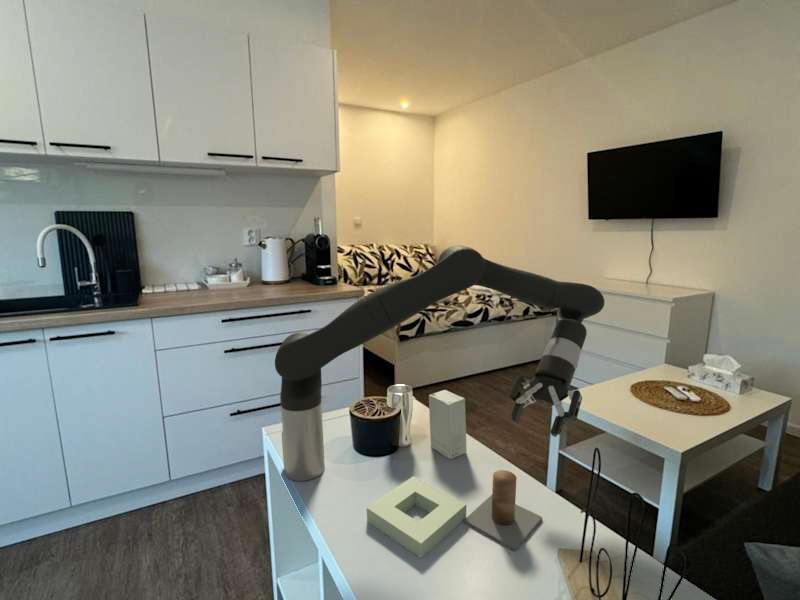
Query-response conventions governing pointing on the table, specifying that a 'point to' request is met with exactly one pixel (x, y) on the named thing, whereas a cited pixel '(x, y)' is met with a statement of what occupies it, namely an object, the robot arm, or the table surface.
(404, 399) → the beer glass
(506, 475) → the walnut pin
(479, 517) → the rubber mat
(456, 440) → the skincare box
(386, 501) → the collar block
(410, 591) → the table surface
